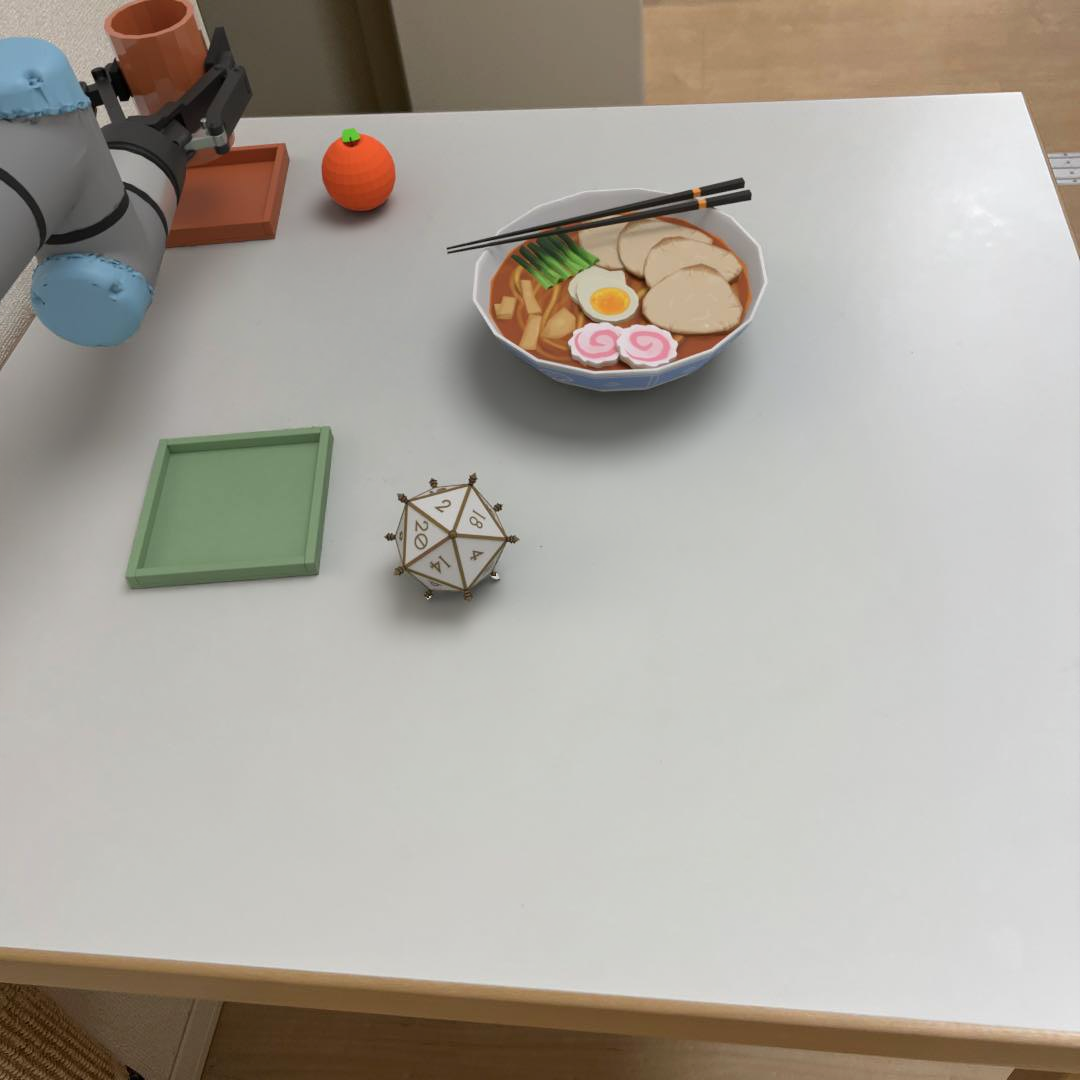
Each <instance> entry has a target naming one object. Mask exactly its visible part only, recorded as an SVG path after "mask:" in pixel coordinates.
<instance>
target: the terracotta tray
mask: <svg viewBox="0 0 1080 1080" xmlns="http://www.w3.org/2000/svg"><path fill="white" fill-rule="evenodd" d="M290 160H291V158H290V156H289V152H288V149H287V144H286V143H285V142H279V143H278V142H277V143H266V144H265V143H264V144H253V145H243V146H232V147H231V148H230V151H229V152H228V153H226V154H224V155H222V156H221V157H219V158H217V159H215V160H213V161H211V162H208V163H205V164H202V165H197V166H192V167H186V178H185V183H184V186H183V190H182V193H181V197H180V200H179V203H178V206H177V208H176V211H175V215H174V218H173V221H172V225H171V228H170V232H169V235H168V238H167V242H166V247H165V249H166V248H177V247H188V246H190V247H191V246H200V245H213V244H224V243H236V242H249V241H258V240H269V239H276V234H277V227H278V223H279V219H280V218H279V217H280V213H281V207H282V201H283V197H284V191H285V186H286V181H287V176H288V171H289V166H290Z"/></svg>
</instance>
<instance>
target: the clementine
mask: <svg viewBox="0 0 1080 1080" xmlns="http://www.w3.org/2000/svg"><path fill="white" fill-rule="evenodd" d="M320 168H321V180H322V183H323V185H324V187H325V190H326V192H327V193H328V195H329V196H330V197H331V199H332V200H333V201H334V202H336V203H337V204H338V205H340V206H342V207H343V208H344V209H347V210H350V211H356V212H367V211H370V210H373V209H375V208H377V207H379V206H381V205H382V204H383V203H385V202H386V201H387V200H388V198H389V197H390V195H391V194H392V192H393V191H394V186H395V183H396V176H397V175H396V165H395V161H394V159H393V156H392V155H391V152H389V150H388V148H387V147H386V146H385V144H384V143H382V142H381V141H379V140H378V139H376V138H375V137H374V136H371V135H368V134H364V133H358V131H357V130H356V128H354V127H350V128H346V129H343V130H342V132H341V136H340V137H338V138H337V139H336V140H334V141H333V142H331V144H329V146H328V148H327V150H326V151H325V153H324V154H323V156H322V161H321V167H320Z"/></svg>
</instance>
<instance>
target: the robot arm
mask: <svg viewBox="0 0 1080 1080" xmlns="http://www.w3.org/2000/svg"><path fill="white" fill-rule="evenodd" d="M204 65H205V68H206V71H207V73H205V74H204V75H203V76H202V77H201V78H200V79H199V80H198V81H197V82H196V83H195V84H194V85H193V86H192V87H191V88H190V89H189V90H188V91H187V92H186V93H185V94H184V95H183V96H181V97H180V98H179V99H178V100H177V101H176V102H173V101H168V102H167V103H166V104H165V105H164V106H163V107H162V108H161V109H160V110H159V111H158V112H157V113H156V114H151V115H147V116H141V115H138V114H136V115H128V116H127V117H126V115H125V113H124V110H123V108H122V106H121V104H120V103H124V102H129V101H130V99H131V95H130V93H129V90H128V88H127V85H126V83H125V80H124V78H123V75H122V73H121V70H120V68H119V65H118V63H117V60H116V58H115V57H114V58H113V61H112V62H109V63H107V64H105V65H104V67H103V66H98V67H97V66H96V67H94V68H93V69H91V70H90V74H91V76H92V79H93V81H94V83H91V84H87V82H86V81H83V80H79V79H78V78H77V76H76V73H75V71H74V69H73V67H72V65H71V63H70V61H69V59H68V57H67V55H66V54H65V53H64V52H63V51H62V50H61V48H59V47H58V46H57V45H55V44H54V43H52V42H51V41H48V40H45V39H41V38H38V37H31V36H29V37H28V36H27V37H25V36H24V37H23V36H10V37H3V38H0V305H2V303H1V301H2V300H3V299H4V298H5V296H6V295H7V293H9V291H10V290H11V289H12V287H13V286H14V284H15V283H16V281H17V280H18V278H19V277H20V276H21V275H22V273H23V272H24V271H25V269H26V268H27V267H28V265H29V264H30V263H31V262H32V260H33V259H34V257H35V259H36V261H37V262H36V263H37V265H36V267H35V268H34V269H33V274H32V276H31V281H32V282H31V287H30V293H29V294H30V295H29V297H30V298H29V299H30V304H31V308H32V310H33V312H34V314H35V315H36V317H37V318H38V320H39V321H40V323H42V325H43V326H44V327H46V329H48V330H49V331H50V332H51V333H53V334H54V335H55V336H57V337H59V338H61V339H62V340H65V341H67V342H69V343H71V344H74V345H78V346H82V347H87V348H88V347H89V348H108V347H115V346H118V345H121V344H123V343H125V342H127V341H128V340H130V339H131V338H133V336H134V335H135V334H136V333H137V331H138V330H139V329H140V327H141V325H142V322H143V320H144V317H145V314H146V312H147V309H148V308H150V306H151V305H152V303H153V298H154V292H155V288H156V284H157V280H158V277H159V274H160V273H159V272H160V270H161V269H160V268H161V267H162V266H161V265H162V262H163V257H164V254H165V251H166V248H165V247H166V242H167V238H168V235H169V232H170V228H171V225H172V221H173V218H174V215H175V211H176V208H177V206H178V203H179V200H180V197H181V193H182V190H183V186H184V183H185V178H186V167H187V163H188V162H189V161H190V160H191V159H192V158H193V157H194V156H195V154H196V150H199V149H204V148H209V147H210V148H214V149H215V152H216V154H218V155H224V154H226V153H228V152H229V151H230V142H229V138H230V136H231V135H232V133H233V131H234V132H235V130H236V128H237V126H238V124H239V122H240V120H241V118H242V116H243V114H244V112H245V110H246V108H247V107H248V105H249V103H250V101H251V99H252V98H253V95H254V94H253V91H252V87H251V85H250V81H249V78H248V74H247V71H246V68H245V67H244V66H243V65H237V64H236V61H235V57H234V55H233V52H232V49H231V46H230V42H229V40H228V36H227V32H226V30H225V27H224V26H218V27H217V26H216V27H215V28H214V31H213V34H212V37H211V40H210V44H209V47H208V53H207V56H206V59H205V62H204ZM100 106H104V108H105V111H106V113H107V115H108V118H109V121H110V123H107V124H105V125H103V126H100V123H99V122H98V119H97V116H98V108H97V107H100ZM198 129H199V130H198ZM197 130H198V131H197ZM196 131H197V132H196Z"/></svg>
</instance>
